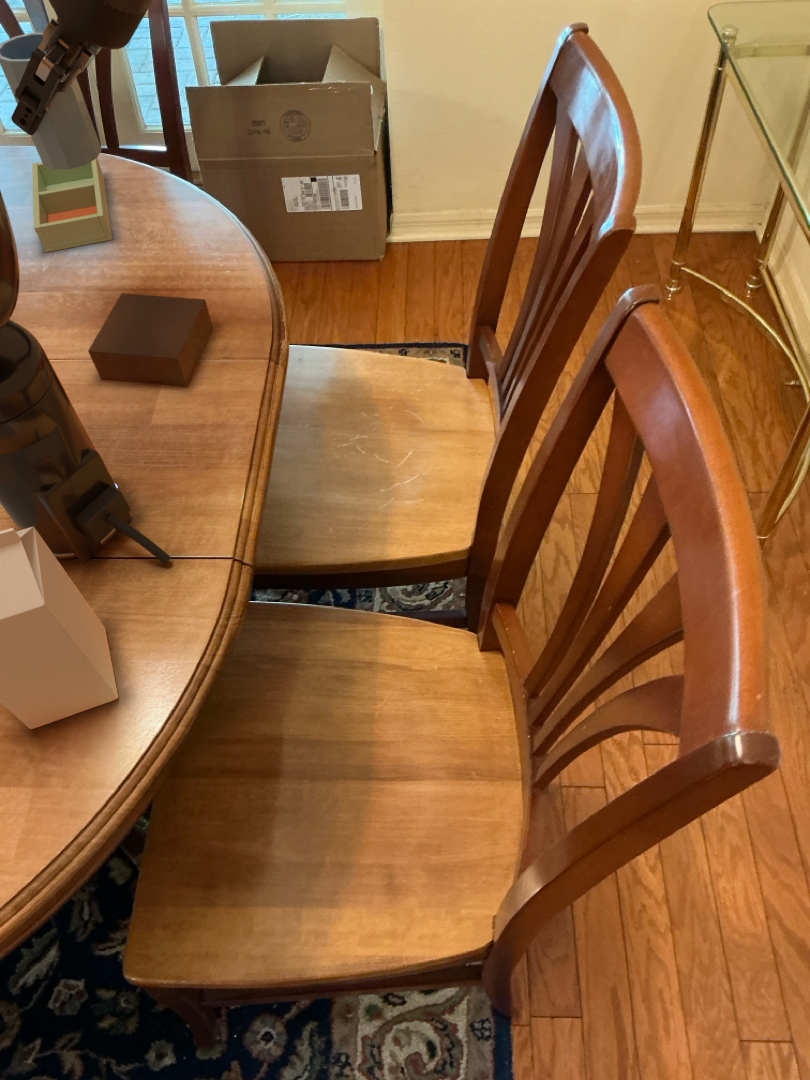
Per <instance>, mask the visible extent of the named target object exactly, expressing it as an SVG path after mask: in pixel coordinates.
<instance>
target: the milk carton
mask: <svg viewBox="0 0 810 1080" xmlns="http://www.w3.org/2000/svg"><path fill="white" fill-rule="evenodd" d="M118 698H119V693H118V689H117V683H116V678H115V672H114V667H113V662H112V657H111V652H110V646H109V640H108V636H107V631H106V628H105V626H104V624H103V622H102V621H101V620H100V618H99V617H98V615H97V614H96V613H95V612H94V610H93V609H92V607H91V606H90V604H89V603H88V602H87V600H86V599H85V597H84V596H83V594H82V593H81V592H80V590H79V588H78V587H77V586H76V585H75V583H74V581H73V580H72V578H71V577H70V576H69V574H68V573H67V571H66V570H65V569H64V567H63V566H62V564H61V563H60V562H59V559H56V557H55V556H54V555H53V553H52V552H51V550H50V549H49V547H48V546H47V545H46V543H45V542H44V540H43V539H42V537H41V536H40V535H39V533H38V532H37V530H36V529H35V528H34V527H30V528H27V529H23V530H20V529H19V530H17V531H16V529H15V528H13V527H11V528H6V529H3V530H0V704H1V705H2V706H3V707H5V708H6V709H7V711H9V712H10V713H11V714H12V715H14V716H15V717H16V718H17V719H18V720H19V721H20V722H21V723H22V724H23V725H25V727H26V728H28V729H30V730H33V729H36V728H39V727H40V728H41V727H42V726H45V725H48V724H51V723H53V722H56V721H60V720H62V719H65V718H68V717H71V716H73V715H76V714H80V713H82V712H85V711H88V710H90V709H93V708H97V707H99V706H101V705H105V704H107V703H111V702H113V701H115V700H117V699H118Z"/></svg>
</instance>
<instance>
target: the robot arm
mask: <svg viewBox="0 0 810 1080" xmlns="http://www.w3.org/2000/svg"><path fill="white" fill-rule="evenodd" d="M153 1H154V0H48V2H49V4H50V6H51V8H52V9H53V11H54V13H55V15H56V19H55V18H53V17H52V18H51V19H50V20H49V22H48V23H47V25H46V27H45V29H44V30H43V31H42V33H43V40H42V42H41V44H40V45H39V47H38V48H37V49H36V50H33V51H32V53H31V58H30V61H29V63H28V65H27V67H26V70H25V72H24V74H23V77H22V79H21V81H20V84H19V86H18V87H17V88H16V90H15V92H16V93H15V95H13V98H15V97H16V98H17V99H18V100H19V102H18V104H17V103H16V104H17V105H16V106H15V109H14V111H13V113H12V115H11V116H10V117H11V118H10V120H11V121H12V123H13V124H14V125H15V126H17V127H18V128H19V129H21V130H22V131H23V132H24V133H26V134H27V135H28V136H31V135H34V133H35V132H36V131H37V129H38V127H39V126H40V124H41V122H42V120H43V118H44V116H45V114H46V112H47V111H48V109H49V110H50V109H51V108H52V106H53V105H52V103H53V101H54V100H55V98H56V97H57V95H58V93H59V92H60V93H64V92H66V91H68V90H69V88H70V86H71V85H72V83H73V81H74V80H75V78H78V75H80V74H81V73H83V72H84V71H85V69H86V68H89V66H91V64H92V63H93V61H94V60H95V58H96V57H97V55H98V54H99V52H100V51H101V49H105V50H120V49H122V48H125V47H126V46H127V45H128V44H130V41H131V40H132V38H133V36H134V35H135V33H136V31H137V29H138V28H139V26H140V24H141V22H142V21H143V19H144V17H145V15H146V13H147V12H148V10H149V8H150V6H151V4H152V3H153ZM46 51H47V54H45V53H46ZM63 73H64V74H66V75H68V76H67V77H66V79H65V80H62V78H63V76H64V75H63ZM19 261H20V260H19V254H18V247H17V242H16V238H15V234H14V230H13V227H12V224H11V220H10V216H9V213H8V210H7V207H6V203H5V200H4V196H3V194H2V191H1V189H0V505H1V507H2V508H3V509H4V511H5V513H6V514H7V515H8V516H9V517H10V519H11V520H12V522H13V523H14V525H16V527H17V528H18V529H19V531H20V530H23V529H27V528H30V527H34V528H35V529H36V530H37V532H38V533H39V535H40V536H41V537H42V539H43V540H44V542H45V543H46V545H47V546H48V547H49V549H50V550H51V552H52V553H53V555H54V556H55V557H56V559H57V560H71V559H79V560H80V561H82V562H88V561H89V560H90V559H91V558H93V556H95V554H96V553H98V552H99V550H101V549H102V548H103V547H104V546H105V545H106V544H108V542H110V540H112V539H113V537H115V535H116V534H117V533H118V532H119V531H120V532H121V533H123V534H124V535H126V536H127V537H128V538H130V539H132V540H133V541H134V542H136V543H137V544H139V546H141V547H143V548H144V549H145V550H147V552H149V553H150V554H151V555H153V557H155V558H156V559H157V560H159V561H160V562H161V563H162V564H164V565H166V564H167V563H168V562H169V561H170V560H171V559H172V556H171V555H169V554H168V553H167V552H166V551H164V549H162V548H161V547H160V546H159V545H157V544H156V543H155V542H153V540H151V539H150V538H148V537H147V536H146V535H145V534H143V533H142V532H140V531H139V530H137V529H136V528H135V527H133V526H132V525H130V524H129V522H130V521H131V520H132V519H133V516H132V513H131V511H132V510H131V508H130V506H129V504H128V502H127V500H126V498H125V496H124V494H123V493H122V491H120V490H119V488H118V485H117V484H116V483H115V481H114V479H113V476H111V474H110V472H109V469H108V467H107V466H106V464H105V462H104V460H103V458H102V457H101V455H100V453H99V452H98V451H97V449H96V447H95V446H94V443H93V441H92V439H91V438H90V435H89V434H88V432H87V430H86V428H85V426H84V424H83V422H82V420H81V419H80V417H79V415H78V413H77V411H76V409H75V406H74V405H73V403H72V402H71V400H70V397H69V396H68V394H67V392H66V389H65V388H64V386H63V384H62V382H61V380H60V378H59V376H58V374H57V372H56V371H55V368H54V367H53V365H52V363H51V360H50V359H49V357H48V354H47V353H46V351H45V349H44V348H43V346H42V344H41V342H39V340H38V339H37V337H36V336H35V335H34V334H33V333H32V332H31V331H29V330H28V329H27V328H25V327H24V326H22V325H21V324H19V323H17V322H15V321H14V320H12V319H11V318H12V316H13V313H14V311H15V309H16V306H17V302H18V298H19V293H20V281H21V279H20V276H21V275H20V273H21V272H20V262H19Z"/></svg>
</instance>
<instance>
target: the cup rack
mask: <svg viewBox="0 0 810 1080" xmlns="http://www.w3.org/2000/svg"><path fill="white" fill-rule="evenodd" d="M31 165H32V166H31V167H32V168H31V169H32V197H33V198H32V199H33V200H32V201H33V228H34V231H35V233H36V235H37V238H38V239H39V242H40V244H41V246H42V248H43V250H44V252H45V253H50V252H55V251H60V250H66V249H71V248H76V247H81V246H87V245H91V244H97V243H101V242H107V241H111V240H113V235H112V227H111V222H110V221H111V219H110V213H109V205H108V198H107V190H106V183H105V177H104V173H103V170H102V167H101V165H100V162H99V160H98V158H96V159H95V160H93V161H91V162H90V163H88V164H87V165H84V166H80V167H77V168H73V169H52V168H49V167H47V166H44V165H43V163H42V161H40V162H34V163H32V164H31Z"/></svg>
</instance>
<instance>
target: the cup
mask: <svg viewBox="0 0 810 1080" xmlns="http://www.w3.org/2000/svg"><path fill="white" fill-rule="evenodd" d="M42 40H43V32H29V33H24V34H20V35H15V36H13V37H11V38H9V39H6V40H5V41H2V42H1V43H0V67H1V69H2V72H3V74H4V77H5V78H6V82H7V83H8V86H9V88H10V90H11V93H12V95H13V96H14V95H15V93H16V92H15V90H16V88H17V87H18V86H19V84H20V81H21V79H22V77H23V74H24V72H25V70H26V67H27V65H28V63H29V61H30V58H31V53H32V51H33V50H36V49H37V48H38V47H39V45H40V44H41V42H42ZM45 54H47V51H46V53H45ZM63 75H64V76H63V78H62V80H65V79H66V77H67V76H68V75H66V74H64V73H63ZM77 78H78V77H76V78H75V80H74V81H73V83H72V85H71V86H70V88H69V90H68V91H66V92H64V93H60V92H59V93H58V95H57V97H56V98H55V100H54V101H53V103H52V105H53V106H52V108H51V109H50V110H49V109H48V111H47V112H46V114H45V116H44V118H43V120H42V122H41V124H40V126H39V127H38V129H37V131H36V132H35V133H34V135H30V138H31V140H32V142H33V144H34V147H35V149H36V151H37V154H38V156H39V159H40V162H42V163H43V165H44V166H47V167H49V168H52V169H73V168H77V167H80V166H84V165H87V164H88V163H90V162H91V161H93V160H95V159H96V158H97V159H98V157H99V156H100V154H101V152H102V151H103V149H102V147H101V143H100V141H99V137H98V134H97V132H96V129H95V126H94V124H93V121H92V117H91V115H90V112H89V110H88V107H87V103H86V101H85V98H84V94H83V92H82V89H81V87H80V83H79V82H78V79H77ZM14 100H15V102H16V104H18V102H19V100H18V99H17V98H16V97H14Z"/></svg>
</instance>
